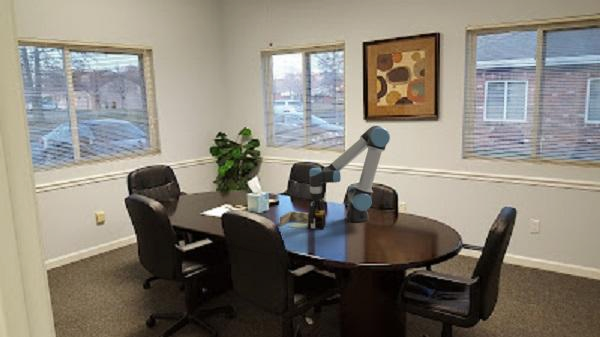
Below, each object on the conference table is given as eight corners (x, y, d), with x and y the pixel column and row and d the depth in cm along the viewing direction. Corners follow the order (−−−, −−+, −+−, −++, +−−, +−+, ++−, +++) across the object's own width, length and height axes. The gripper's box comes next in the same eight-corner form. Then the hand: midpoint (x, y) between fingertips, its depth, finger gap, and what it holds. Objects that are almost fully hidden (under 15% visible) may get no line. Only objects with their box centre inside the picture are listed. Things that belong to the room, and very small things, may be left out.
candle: (323, 229, 286) (323, 214, 284) (307, 229, 288) (307, 214, 287) (326, 225, 296) (325, 210, 294) (310, 224, 298) (310, 209, 296)
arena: (316, 222, 302) (315, 213, 301) (306, 228, 289) (305, 219, 288) (291, 219, 311) (290, 211, 310) (280, 225, 298) (279, 217, 297)
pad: (312, 223, 300) (312, 223, 300) (304, 228, 290) (304, 228, 290) (296, 221, 306) (296, 221, 305) (288, 226, 295) (288, 226, 295)
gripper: (318, 188, 300) (319, 219, 304) (302, 196, 280) (303, 230, 283) (328, 188, 297) (329, 221, 300) (313, 196, 276) (314, 231, 280)
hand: (317, 225), depth 292 cm, fingers closed on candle, 11 cm apart
